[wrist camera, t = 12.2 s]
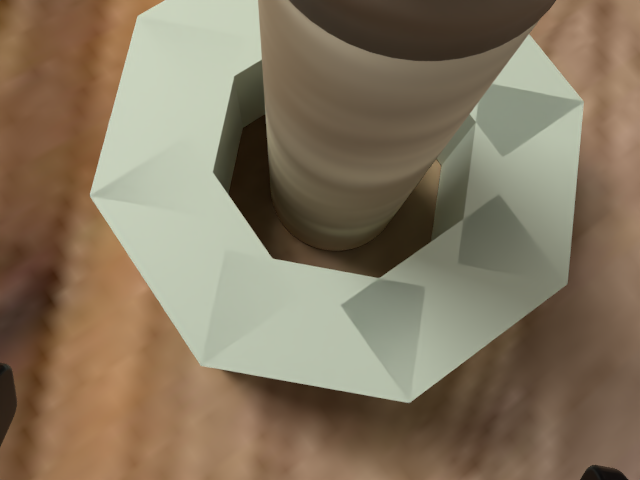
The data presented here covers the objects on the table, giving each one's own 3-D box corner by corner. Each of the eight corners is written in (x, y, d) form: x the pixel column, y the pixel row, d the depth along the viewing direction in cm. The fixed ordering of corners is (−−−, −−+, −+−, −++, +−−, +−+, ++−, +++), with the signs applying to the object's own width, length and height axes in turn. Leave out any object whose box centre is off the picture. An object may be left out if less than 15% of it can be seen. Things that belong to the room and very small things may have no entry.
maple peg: (424, 204, 19) (791, -214, 5) (319, 277, 18) (427, 13, 5) (349, 104, 20) (507, -510, 6) (244, 170, 19) (144, -347, 5)
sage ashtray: (600, 235, 19) (669, 207, 16) (284, 470, 17) (285, 495, 14) (377, -49, 21) (396, -131, 17) (65, 135, 19) (16, 84, 15)
